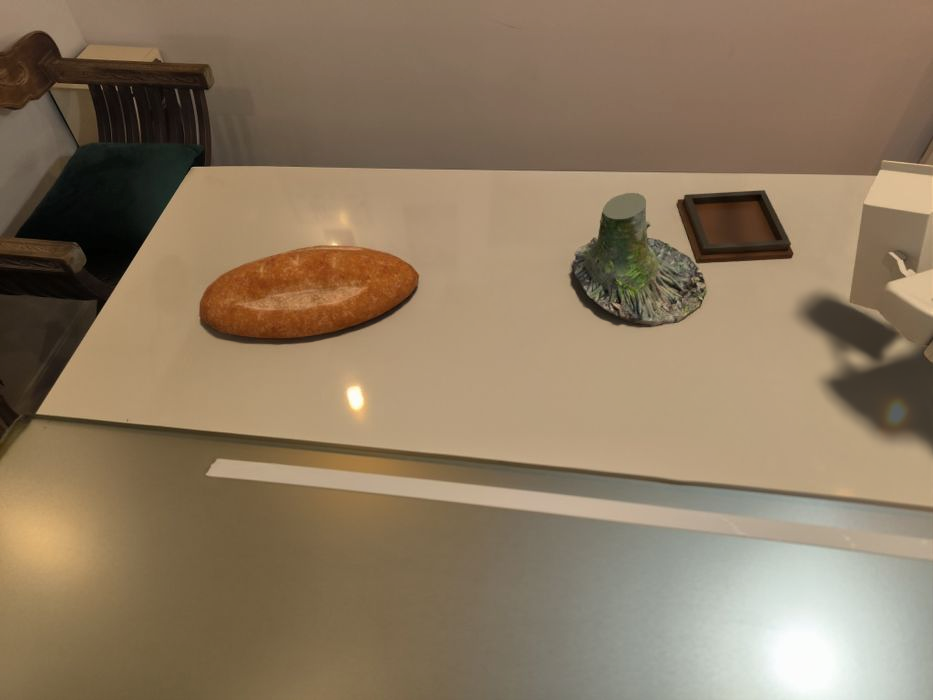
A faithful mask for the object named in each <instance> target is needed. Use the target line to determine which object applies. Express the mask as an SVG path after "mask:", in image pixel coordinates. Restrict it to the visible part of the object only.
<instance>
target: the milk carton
mask: <svg viewBox="0 0 933 700" xmlns="http://www.w3.org/2000/svg"><path fill="white" fill-rule="evenodd" d="M858 231H859V232H858V239H857V244H856V251H855V258H854V266H853V272H852V278H851V279H852V280H851V284H850V285H851V286H850V292H849V293H850V294H849V300H848V302H849V304H852V305H855V306H859V307H863V308H867V309H870V310H873V311H876V312H878V310H877V308H876V299H877V297H878V295H879V294H880V292H881V291H882V289H883V288H884V287H885V285H886V284H887V283H889V282H891V281H892V280H891V275H890V270H889V269H888V268H887V267H885V266H884V265H883V264H882V259H883V257H884V256H885V254H886V253H889V252H893V251H896V250H899V251H901V253H902V254H904V255H905V256H906V257H908V258H907V260H906V261H905V262H904V265H905V268H906V270H909V269H912V270H913V271H914V272H915V273H916V274H918V273H921V272H924V271H928V270H931V269H933V165H931V164H923V163H922V164H921V163H911V162H902V161H893V160H885V159H884V160H883V159H882V160H881V162H880V169H879V171H878V173H877V175H876V177H875V179H874V181H873V182H872V185H871V187H870V189H869V191H868V193H867V194H866V197H865V199H864V201H863V203H862V211H861V218H860V224H859V230H858Z"/></svg>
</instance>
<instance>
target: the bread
mask: <svg viewBox="0 0 933 700" xmlns="http://www.w3.org/2000/svg"><path fill="white" fill-rule="evenodd" d="M419 279H420V274H419V273H418V271H417V270H416V269H415V268H414V266H413V265H412V264H410V263H409V262H407V261H405V260H403V259H402V258H400V257H398V256H396V255H394V254H391V253H389V252H385V251H381V250H376V249H372V248H368V247H361V246H352V245H336V244H335V245H333V244H331V245H330V244H328V245H313V246H307V247H301V248H296V249H292V250H288V251H285V252H281V253H278V254H273V255H269V256H265V257H262V258H259V259H256V260H253V261H249V262H246V263H244V264H241V265H239V266H236V267H234V268H233V269H230V270H227V271H226V272H224V273H222V274H221V275H220V276H219V277H217V278H216V279H215V280H213V282H212V283H210V284H209V285H208V286H207V287H206V289H205V290H204V292H203V294H202V296H201V298H200V301H199V312H198V317H199V318H200V319H201V321H202V322H203V323H205V324H206V325H208V326H209V327H212V328H213V329H215V330H217V331H219V332H220V333H223V334H228V335H235V336H239V337H247V338H248V337H249V338H260V339H261V338H262V339H265V338H266V339H293V338H303V337H311V336H316V335H317V336H318V335H323V334H328V333H333V332H337V331H340V330H344V329H348V328H350V327H353V326H357V325H360V324H362V323H365V322H367V321H370V320H372V319H375V318H376V317H377V318H378V317H379V316H381V315H382V314H384V313H386V312H388V311H390V310H392V309H393V308H394V307H396V306H398V305H399V304H400V303H402V302H403V301H404V300H405V299H406V298H408V297H409V296H410V295H411V294H412V293H413V291H414V290H415V289H416V287H417V286H418V285H419Z"/></svg>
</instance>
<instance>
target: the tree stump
mask: <svg viewBox="0 0 933 700" xmlns="http://www.w3.org/2000/svg"><path fill="white" fill-rule="evenodd" d="M646 209H647V200H646V198H645V196H644V195H643V194H640V193H639V192H626V193H621V194H619V195H616V196H613V197H612V198H610V200H608V201H607V202H606V203H605V204H604V206H603V208H602V211H601V216H600V220H599V230H598V235H597V238H596V237H595V236H594V237H592V239H591V240H590V242H588V243H587V244H586V245H583V246H579V247H578V248H577V249H576V250H575V252H574V260H572V264H573V268H574V274H575V277H576V278H577V280H578V281H579V283H580V285H581V286H582V289H583V290H584V291H585V293H586V295H587V296H588V297H589V298H590V299H592V300H593V302H595V303H596V304H597V305H598V306H599V307H601V308H602V309H604V310H605V311H606V312H608V313H610V314H612V315H614V316H615V317H618V318H619V319H622V320H624V321H626V322H628V323H634V324H640V325H647V326H652V327H656V326H659V325H662V324H675V323H680V322H682V321H683V320H684V319H685V318H687V317H688V316H690V315H691V314H693V313H694V312H696V311H697V310H699V309H700V308H701V306H702V304H703V301H704V298H705V297H706V295H707V293H708V291H707V284H706V281H705V278H704V274H703V272H702V271H701V270H700V268H699V267H698V266H697V264H696V263H695V262H694V260H693V259H692V258H691V257H690V256H689V255H687V254H685V253H684V252H681V251H679V250H678V249H677V248H675V247H674V246H671V244H669V243H667V242H664V241H662V240H661V239H656V238H653V237H648V228H649V227H651V222H650V221H649V220H647V210H646Z"/></svg>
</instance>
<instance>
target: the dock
mask: <svg viewBox="0 0 933 700" xmlns="http://www.w3.org/2000/svg"><path fill="white" fill-rule="evenodd" d="M676 201H677V202H676V205H677V208H678V212H679V214H680V217H681V220H682V222H683V226H684V229H685V231H686V234H687V237H688V240H689V243H690V246H691V248H692V252H693V254H694V255H693V256H694V258H695V261H696V263H697V264H701V263H702V264H703V263H704V264H705V263H719V262H720V263H721V262H739V261H759V260H777V259H778V260H781V259H792V258H793V256H794V254H795V253H794V251H793V249H792V247H791V245H792V243H791V241H790V239H789V237H788V234H787V232H786V230H785V228H784V226H783V224H782V222H781V219H780V218H779V216H778V215H777V212H776V210H775V208H774V206H773V204H772V202H771V200H770V198H769V196H768V194H767V192H766V190H765V189H759V190H744V191H741V190H740V191H725V192H723V191H722V192H708V193H691V194H690V193H689V194H684V196H683V198H682V199H681V198H680V199H677V200H676Z"/></svg>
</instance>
